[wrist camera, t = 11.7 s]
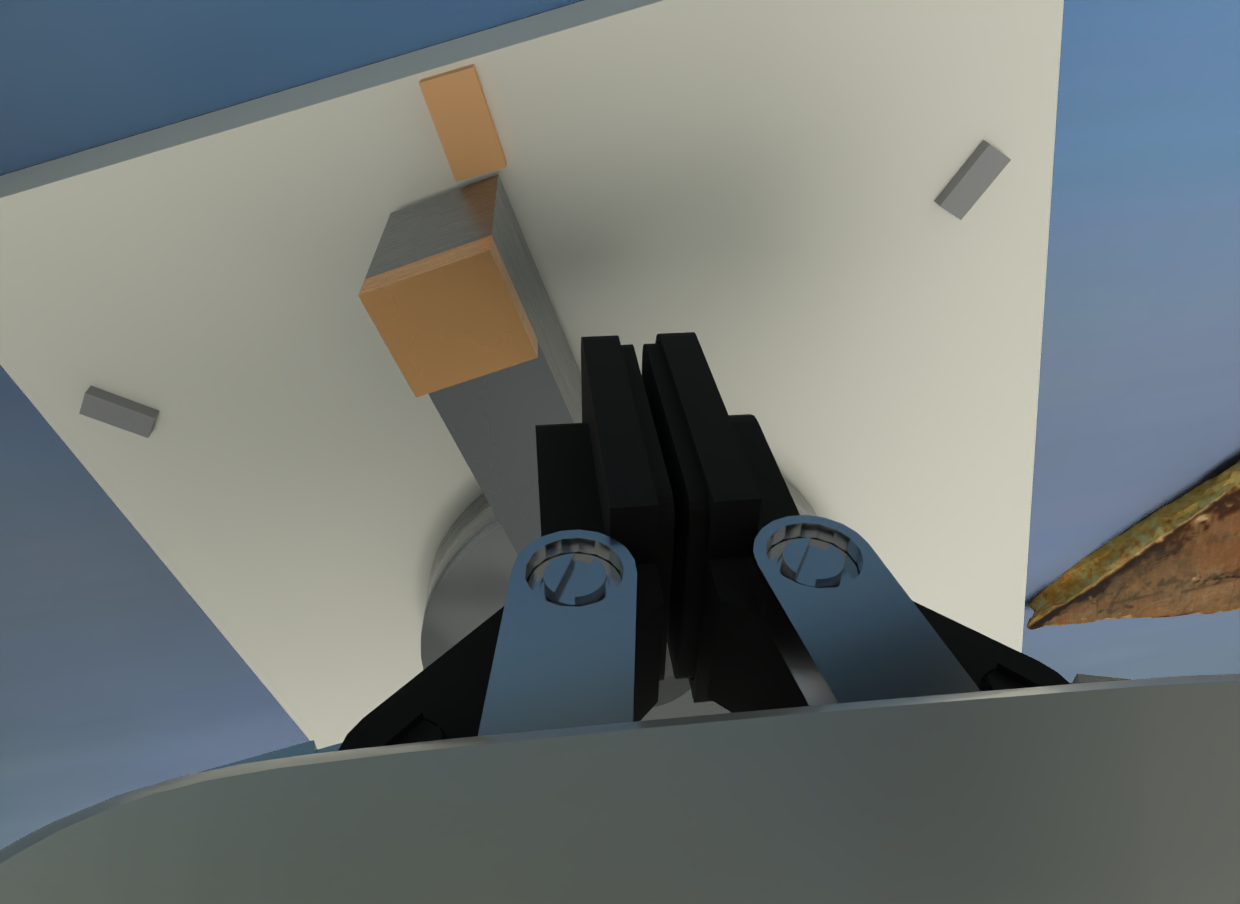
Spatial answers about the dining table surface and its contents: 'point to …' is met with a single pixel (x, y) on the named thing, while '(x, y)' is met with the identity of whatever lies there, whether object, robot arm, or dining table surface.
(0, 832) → the dining table surface
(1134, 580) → the shard
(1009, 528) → the board
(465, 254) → the dial
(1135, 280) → the dining table surface
